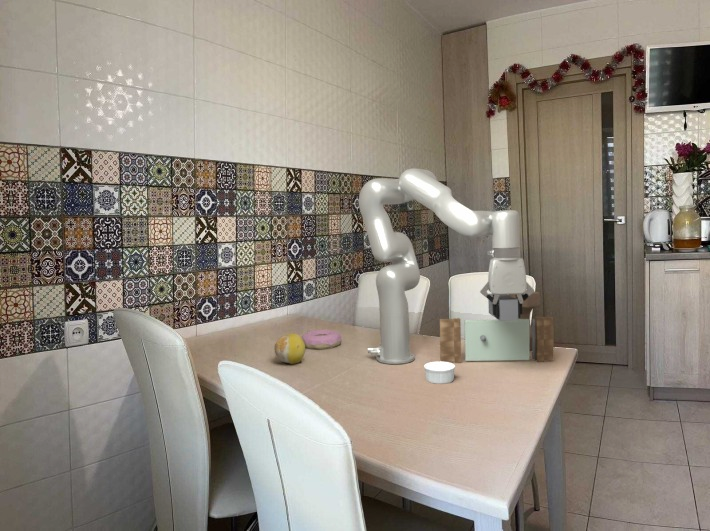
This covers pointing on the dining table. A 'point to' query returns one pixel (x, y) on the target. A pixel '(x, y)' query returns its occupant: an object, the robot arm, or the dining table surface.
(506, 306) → the grey block
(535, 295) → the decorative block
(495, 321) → the door
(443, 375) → the ramekin
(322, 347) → the donut
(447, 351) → the frame
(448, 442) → the dining table surface
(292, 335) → the fruit
